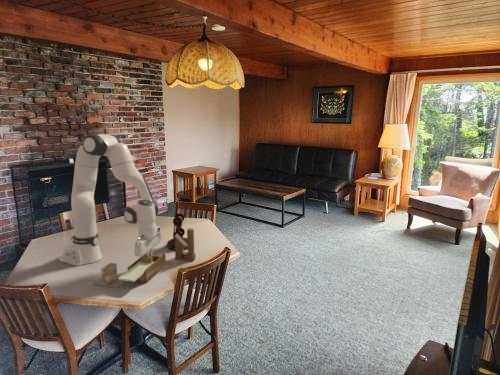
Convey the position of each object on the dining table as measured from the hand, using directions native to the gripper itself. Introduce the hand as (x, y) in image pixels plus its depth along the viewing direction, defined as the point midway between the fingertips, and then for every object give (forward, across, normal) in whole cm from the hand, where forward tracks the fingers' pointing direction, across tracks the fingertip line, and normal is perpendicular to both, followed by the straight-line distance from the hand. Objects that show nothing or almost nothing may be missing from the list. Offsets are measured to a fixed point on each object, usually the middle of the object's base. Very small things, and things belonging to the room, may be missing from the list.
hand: (148, 257), depth 179 cm
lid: (+2, -11, 0) cm, 11 cm away
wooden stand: (+8, +18, -12) cm, 23 cm away
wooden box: (+8, -2, 0) cm, 8 cm away
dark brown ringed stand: (+8, +34, -1) cm, 35 cm away
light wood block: (+7, -16, +12) cm, 21 cm away
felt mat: (+8, -16, +12) cm, 21 cm away
